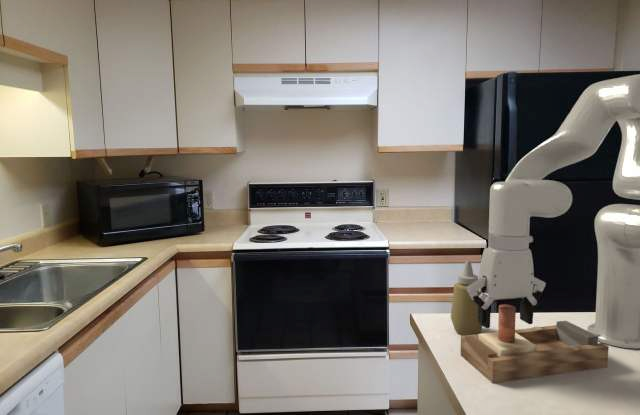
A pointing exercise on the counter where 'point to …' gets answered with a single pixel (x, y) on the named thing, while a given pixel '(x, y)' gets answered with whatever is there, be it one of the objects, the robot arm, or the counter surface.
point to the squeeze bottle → (465, 304)
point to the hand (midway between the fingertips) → (505, 323)
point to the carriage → (507, 335)
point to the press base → (539, 353)
